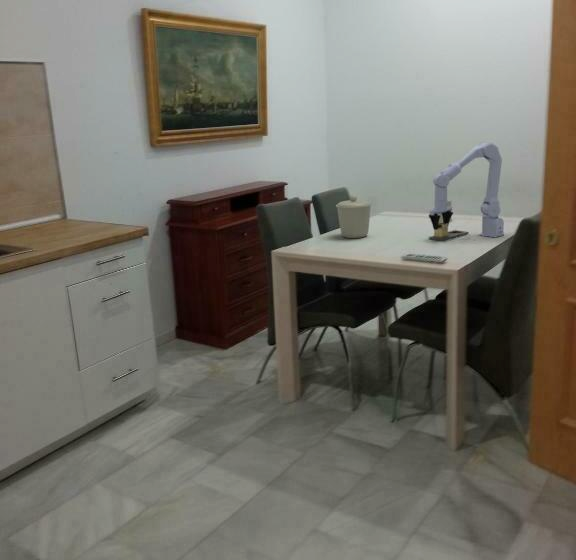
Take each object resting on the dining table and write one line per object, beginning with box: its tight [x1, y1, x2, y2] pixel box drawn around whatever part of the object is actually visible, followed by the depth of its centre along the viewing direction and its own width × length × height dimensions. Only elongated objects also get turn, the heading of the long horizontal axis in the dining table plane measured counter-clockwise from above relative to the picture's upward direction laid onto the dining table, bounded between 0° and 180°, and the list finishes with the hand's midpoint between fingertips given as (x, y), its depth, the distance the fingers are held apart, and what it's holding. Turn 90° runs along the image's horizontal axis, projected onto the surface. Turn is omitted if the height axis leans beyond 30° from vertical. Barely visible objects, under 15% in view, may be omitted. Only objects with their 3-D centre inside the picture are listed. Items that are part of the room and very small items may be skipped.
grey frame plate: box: [428, 229, 469, 242], centre depth 309 cm, size 8×20×1 cm, turn 129°
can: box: [437, 198, 453, 223], centre depth 348 cm, size 9×9×12 cm
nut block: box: [433, 223, 449, 238], centre depth 304 cm, size 4×4×8 cm
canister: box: [335, 194, 373, 239], centre depth 321 cm, size 18×18×21 cm
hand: (440, 228), depth 304 cm, fingers open, 7 cm apart
